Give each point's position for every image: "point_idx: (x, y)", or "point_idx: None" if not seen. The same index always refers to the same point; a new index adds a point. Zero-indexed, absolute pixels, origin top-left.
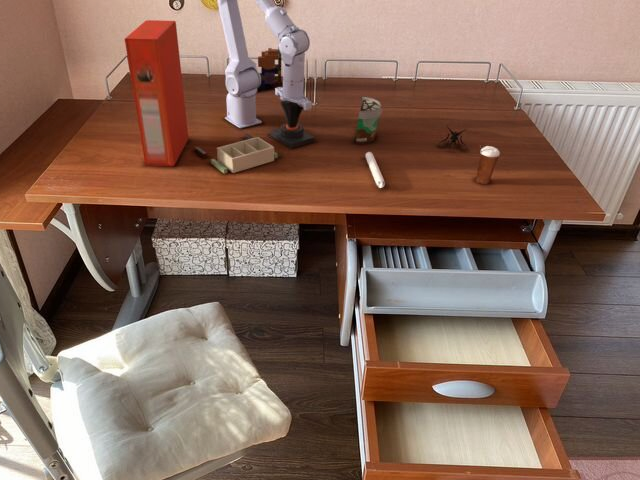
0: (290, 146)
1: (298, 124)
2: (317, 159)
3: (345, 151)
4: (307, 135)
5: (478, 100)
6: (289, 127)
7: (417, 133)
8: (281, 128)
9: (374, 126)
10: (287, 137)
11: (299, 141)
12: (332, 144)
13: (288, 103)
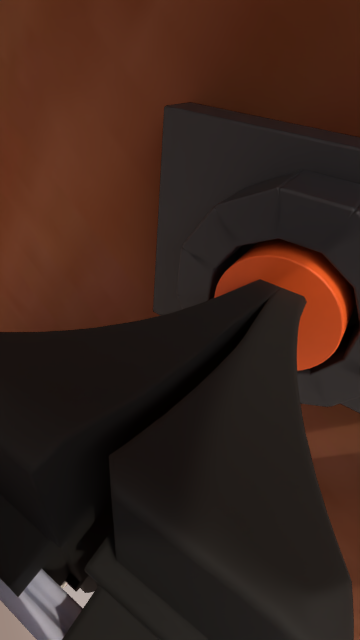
0: (200, 106)
1: None
2: (16, 114)
3: (43, 283)
4: None
5: None
6: (274, 279)
7: None
8: (355, 216)
9: None
10: (269, 179)
11: (160, 194)
12: (108, 317)
13: (119, 557)
